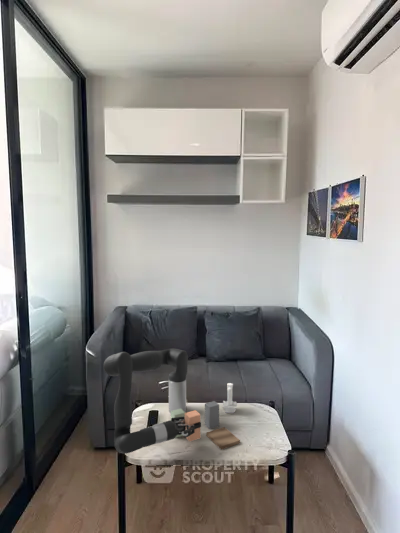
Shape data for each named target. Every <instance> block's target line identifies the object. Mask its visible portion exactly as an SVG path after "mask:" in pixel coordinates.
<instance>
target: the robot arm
mask: <svg viewBox="0 0 400 533" xmlns="http://www.w3.org/2000/svg"><path fill="white" fill-rule="evenodd" d="M188 361H189V356H188V352H187V351H186V350H182V349H179V348H173V347H172V348H167V349H163V350H145V351H140V352H137V353H133V354H130V353H128V352H126V351H121V352H117V353H114V354H111V355H109V356H107V358H105V360H104V362H103V365H102V366H103V371H104V372H105V373H106V375H108V376H110V377H118V376H119V387H118V391H117V394H116V396H115V401H114V403H113V405H114V406H113V417H114V433H113V434H114V436H113V437H114V438H113V443H114V448H115V451H116V452H118V453H120V454H130V453H134V452H136V451H138V450H140V449H142V448H146V447H150V446H153V445H158V444H162V443H165V442H168V441H169V442H170V441H172V440H175V439H176V438H175V437H176V436H177V435H181V434H182V435H184V436H183V438H184V439H187V438H186V437H188V436H190V435H192V434H193V433H195V429H197V428H200V427H202V422H201V421H200V422H198V423H194V424H190V425H189V424H185V418H184V417H176V418H171V417H170V420H166V421H162V422H160V423H155V424H153V425H152V426H147V427H145V428H141V429H140V430H137V431H134V432H131V427H132V424H133V416H132V415H133V414H132V398H131V397H132V396H131V395H132V384H133V372H134V373H142V372H151V371H156V370H157V369H159V368H160V367H161V366H170V367H175V370H174V371H171V372H169V374H168V412H169V413H170V414H171V411H174V410H177V409H182V410H183V411H184V412H185V413H187V412H186V411H187V374H188V364H189V362H188ZM179 419H181V420H179ZM186 427H187V429H186ZM189 427H191V428H189Z"/></svg>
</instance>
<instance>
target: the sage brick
mask: <svg viewBox="0 0 400 533" xmlns="http://www.w3.org/2000/svg"><path fill="white" fill-rule="evenodd" d="M185 413H186V412H184V411H183V410H182V409H177V410H174V411H171V413H170V419H171V418H176V417H184V418H185ZM179 420H181V419H179ZM180 437H184V435H182V434H181V435H177V436H176V437H175V438H174V439H177V438H180Z"/></svg>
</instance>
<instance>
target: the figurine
mask: <svg viewBox="0 0 400 533" xmlns="http://www.w3.org/2000/svg"><path fill="white" fill-rule="evenodd" d="M226 385H227V386H226V388H227V389H226V391H227V400H223V401H222V408H223V411H224V412H225V413H226V414H234V413H235V411H236V410H237V409H238V407H237V406H238V405H237V404H238V403H237V401H233V387H234V383H233V382H232V383H231V382H228V383H227V384H226Z"/></svg>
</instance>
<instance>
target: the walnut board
mask: <svg viewBox="0 0 400 533" xmlns="http://www.w3.org/2000/svg"><path fill="white" fill-rule="evenodd" d="M205 434H206V437H207V438H208V439H209V440H210V441H211V442H212V443H213V444H214V445H216V446H217V447H218V448H219V449H220V450H225V449H229V448H231V447H233V446H236V444H237V445H239V443H240V444H241V439H239V438H238V437H237V436H236V435H235V434H233V433H232V432H231V431H230V430H229V429H228V428H227V427H225V426H224V427H219V428H217V429H213V430H211V431H207V432H206V433H205Z"/></svg>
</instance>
